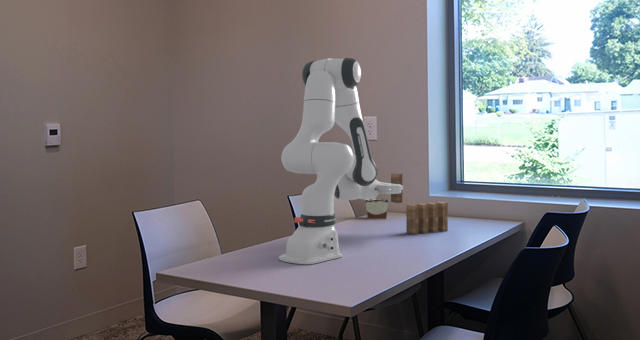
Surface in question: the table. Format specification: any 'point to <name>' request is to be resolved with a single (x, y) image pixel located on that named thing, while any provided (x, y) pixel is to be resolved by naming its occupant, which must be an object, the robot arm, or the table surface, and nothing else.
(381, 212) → the food container
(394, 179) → the domino
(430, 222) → the domino
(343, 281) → the table surface
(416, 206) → the domino
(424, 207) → the domino
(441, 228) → the domino
